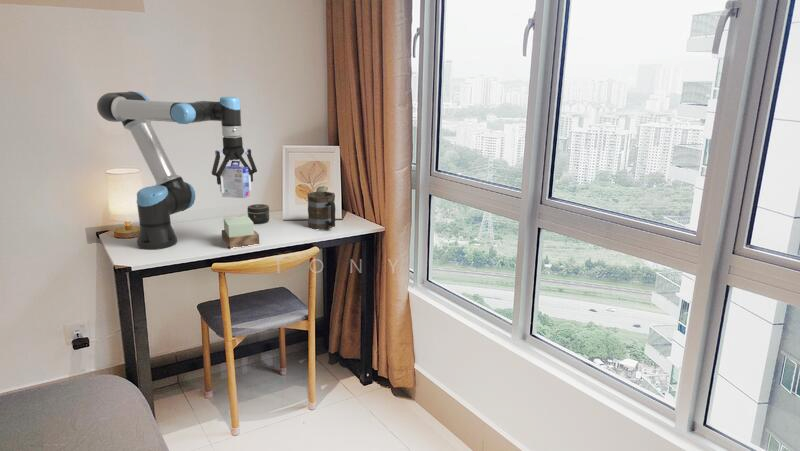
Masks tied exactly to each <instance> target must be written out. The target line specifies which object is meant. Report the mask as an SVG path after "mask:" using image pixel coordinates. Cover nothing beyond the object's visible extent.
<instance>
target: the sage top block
mask: <svg viewBox="0 0 800 451" xmlns="http://www.w3.org/2000/svg"><path fill="white" fill-rule="evenodd" d="M254 226H255V224H254V223H253V222H252V221H251V219H250V218H249V217H248V215H244V216H243V215H242V216H235V217H224V218H223V230H225V232H226V233H227V235H228V236H229V237H237V236H246V235H254V231H255V227H254Z"/></svg>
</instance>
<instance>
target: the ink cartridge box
mask: <svg viewBox="0 0 800 451" xmlns="http://www.w3.org/2000/svg"><path fill="white" fill-rule="evenodd" d="M235 163H237V164H235ZM240 164H241V161H240V160H231V163H230V166H227V165H226V167H225V169H224V170H223V172H222V174H221V176H222V177H223V188H224V193H221V194H222V197H223V198H234V199H245V198H248V197H250V196H251V195H250V194H251V192H250V191H251V190H249V172H248V167H244V166H240Z"/></svg>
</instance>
